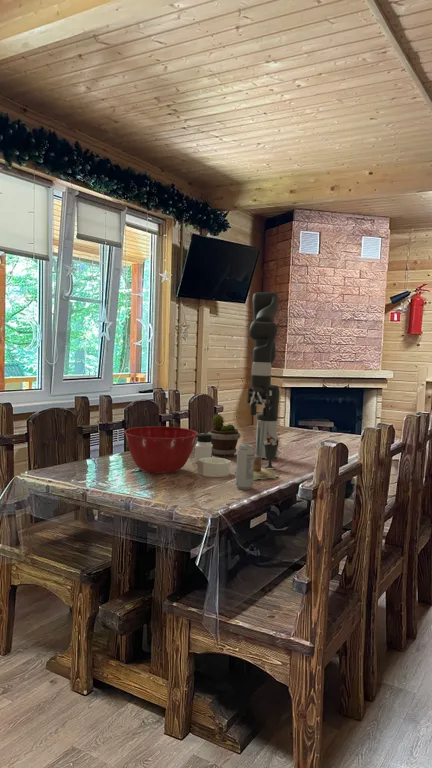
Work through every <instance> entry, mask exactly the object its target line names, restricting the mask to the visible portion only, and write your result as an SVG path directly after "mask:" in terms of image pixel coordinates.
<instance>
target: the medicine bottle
mask: <svg viewBox="0 0 432 768" xmlns="http://www.w3.org/2000/svg"><path fill="white" fill-rule="evenodd" d="M211 439H212V436H211V435H210V434H208V433H198V435H197V437H196V441H197V442H196V444H195V446H194V448H195V450H194V463H196V464H198V460H199V459H201V458H210V457H213V454H212V449H213V445H212V444H211Z"/></svg>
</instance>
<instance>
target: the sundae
mask: <svg viewBox="0 0 432 768" xmlns="http://www.w3.org/2000/svg"><path fill="white" fill-rule="evenodd" d="M267 434H269V433H267ZM263 445H264V446H265V455H266V458H267V459H266V460H268V465H266V466H264V467H265V468H275V467H274V466H273V465H272V463H273V460H275V459H276V458H275V456H276V451H277V446H278V447H279V446H280V444H279V439H278V440H277V441H276V440H275V439H274V438H273V437H272V436H270V438H267V440H266V441H265V443H263ZM274 458H275V459H274Z"/></svg>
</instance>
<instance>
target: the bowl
mask: <svg viewBox="0 0 432 768" xmlns="http://www.w3.org/2000/svg"><path fill="white" fill-rule="evenodd" d="M231 462H232V460H229V459H226V458H224V457H215V456H214V457H213V456H212V457H210V458H201V459H199V460H198V463H197V468H196V469H197V470H196V473H197V474H198V475H201V476H203V477H211V478H212V477H213V478H220V477H222V478H223V477H228V476H229V475H230V474H231V467H232V466H231V465H232V463H231Z"/></svg>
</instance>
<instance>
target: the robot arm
mask: <svg viewBox="0 0 432 768" xmlns="http://www.w3.org/2000/svg"><path fill="white" fill-rule="evenodd" d="M279 304H280V303H279V296H278V294H277V293H276V292H274V291H264V292H261V291H260V292H258V291H257V292H255V293H253V295H252V313H253V314H252V315H253V321H252V322H251V324H250V326H249V329H248V334H249V337H250V338H251V339H252V340H253V341H254V347H253V351H252V363H251V364H252V365H251V377H250V386H251V387H249V388H248V391H247V404H249V405H250V415H251V416H256V415H257V417H256V438H255V454H254V456H261V457H262V458H265V459H264V460H268V459H267V458H266V455H265V446H264V445H263V443H265V441H266V440H267V438H270V436H272V437H273V438H274V439H275V440H276V441H277V440H278V441H279V437H278V435H277V433H278V416H279V404H280V395H281V394H280V388H279V386H278V385H275V384H272V382H271V381H272V365H273V363H274V362H275V359H276V355H277V354H276V342H275V340H276V337H277V334H278V325H277V324H276V323H275V322H274V319H275V316H276V315H277V313H278V311H279ZM257 405H261V406H262V412H259V413H257ZM267 433H269V434H267ZM278 453H279V445H278V446H277V451H276V456H275V457H277V458H278Z"/></svg>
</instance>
